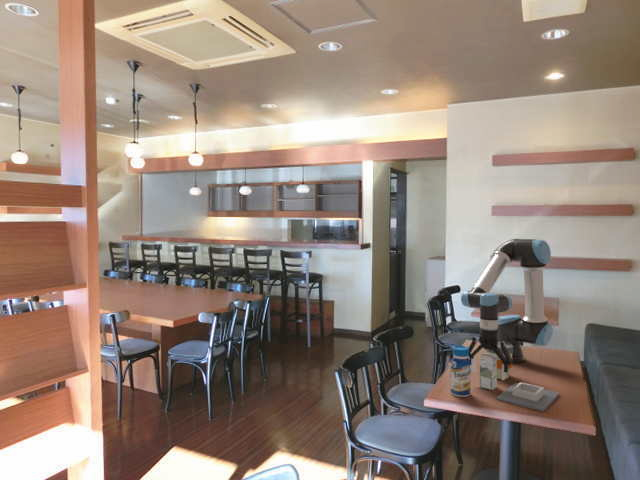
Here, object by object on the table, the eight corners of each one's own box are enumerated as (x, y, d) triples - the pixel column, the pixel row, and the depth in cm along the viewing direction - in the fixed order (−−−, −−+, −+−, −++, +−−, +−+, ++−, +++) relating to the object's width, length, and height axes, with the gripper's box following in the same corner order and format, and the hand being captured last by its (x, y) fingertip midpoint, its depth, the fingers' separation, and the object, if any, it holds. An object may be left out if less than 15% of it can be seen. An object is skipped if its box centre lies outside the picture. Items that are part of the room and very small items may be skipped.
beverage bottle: (466, 389, 196) (467, 344, 195) (473, 397, 188) (474, 350, 187) (447, 389, 196) (448, 344, 195) (453, 397, 188) (453, 350, 187)
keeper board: (515, 384, 202) (515, 376, 202) (559, 395, 190) (559, 385, 190) (496, 399, 186) (496, 390, 185) (543, 411, 174) (543, 401, 173)
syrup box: (496, 387, 199) (497, 354, 199) (491, 390, 195) (492, 358, 194) (484, 383, 203) (484, 352, 203) (479, 387, 199) (479, 355, 198)
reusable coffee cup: (479, 375, 215) (480, 344, 214) (493, 369, 223) (493, 339, 222) (504, 382, 205) (505, 350, 204) (517, 376, 213) (518, 345, 212)
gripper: (458, 325, 204) (457, 371, 205) (514, 334, 187) (514, 384, 188) (465, 322, 209) (464, 367, 210) (521, 331, 192) (520, 380, 193)
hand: (488, 375), depth 199 cm, fingers open, 13 cm apart
